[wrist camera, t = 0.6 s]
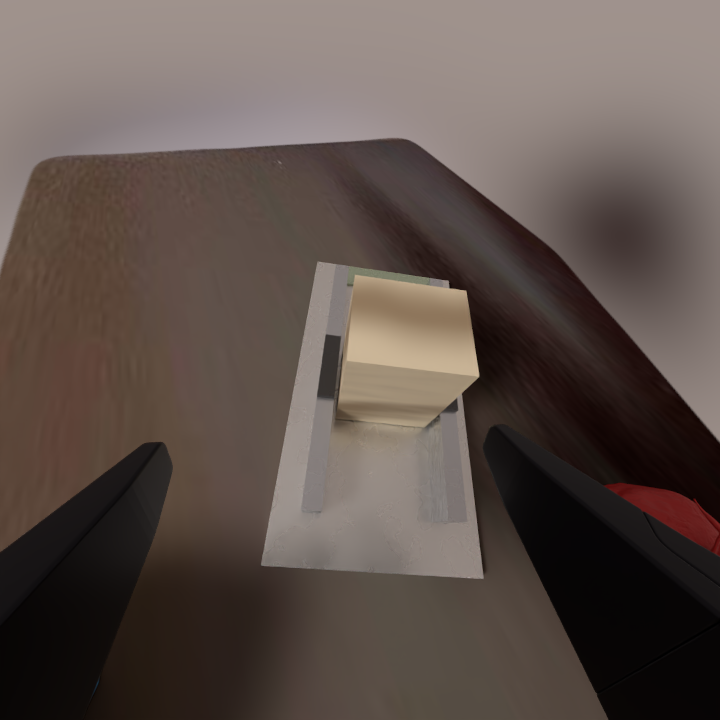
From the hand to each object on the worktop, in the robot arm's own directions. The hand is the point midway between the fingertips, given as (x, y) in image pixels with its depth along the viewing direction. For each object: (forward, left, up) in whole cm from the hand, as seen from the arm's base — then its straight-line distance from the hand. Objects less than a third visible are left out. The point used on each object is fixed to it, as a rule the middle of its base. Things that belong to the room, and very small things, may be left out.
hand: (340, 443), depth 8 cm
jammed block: (+6, -7, -14) cm, 16 cm away
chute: (+6, -7, -15) cm, 17 cm away
